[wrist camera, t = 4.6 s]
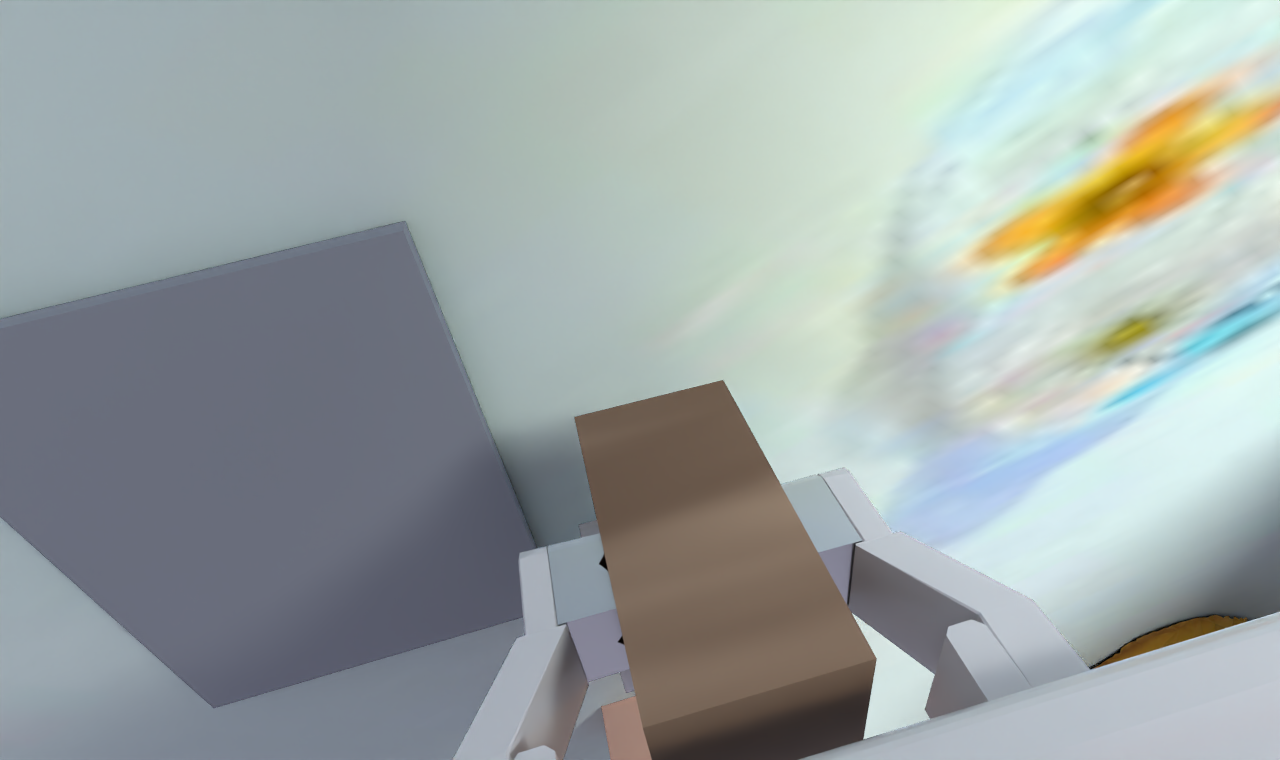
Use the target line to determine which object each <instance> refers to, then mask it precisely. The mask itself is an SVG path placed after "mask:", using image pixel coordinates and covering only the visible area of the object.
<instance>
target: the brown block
mask: <svg viewBox="0 0 1280 760" xmlns="http://www.w3.org/2000/svg"><path fill="white" fill-rule="evenodd" d="M574 418H575V423H576V427H577V432H578V436H579V441H580V445H581V450H582V455H583V459H584V464H585V468H586V473H587V477H588V482H589V486H590V491H591V495H592V500H593V504H594V509H595V514H596V518H597V520H594V521H591V522H587V523H583V524H579V529H580V534H581V538H582V537H586V536H590V535H595V534H599V533H600V536H601V541H602V545H603V550H604V554H605V559H606V563H607V568H608V573H609V577H610V582H611V586H612V591H613V595H614V600H615V604H616V609H617V613H618V618H619V622H620V627H621V631H622V636H623V641H624V645H625V650H626V654H627V659H628V663H629V668H630V669H628V670H625V671H621V672H620V674H621V677H622V681H623V684H624V687H625V691H626V693H628V692H631V691H635V695H636V700H637V704H638V709H639V713H640V718H641V722H642V727H643V731H644V734H645V737H646V741H647V744H648V748H649V751H650V755H651V758H652V760H799V759H802V758H805V757H809V756H812V755H815V754H818V753H822V752H825V751H828V750H831V749H835V748H838V747H841V746H844V745H848V744H851V743H854V742H857V741H861V740H863V737H864V731H865V725H866V719H867V713H868V707H869V701H870V695H871V689H872V683H873V677H874V671H875V665H876V657H875V655H874V653H873V651H872V649H871V648H870V646H869V644H868V642H867V640H866V639H865V637H864V635H863V633H862V631H861V630H860V628H859V626H858V624H857V622H856V620H855V619H854V617H853V615H852V613H851V611H850V610H849V608H848V606H847V604H846V602H845V600H844V599H843V597H842V595H841V593H840V591H839V590H838V588H837V586H836V584H835V582H834V580H833V579H832V577H831V575H830V573H829V571H828V570H827V568H826V566H825V564H824V562H823V561H822V559H821V557H820V555H819V553H818V551H817V550H816V548H815V546H814V544H813V542H812V541H811V539H810V537H809V535H808V533H807V531H806V530H805V528H804V526H803V524H802V522H801V521H800V519H799V517H798V515H797V513H796V512H795V510H794V508H793V506H792V504H791V502H790V501H789V499H788V497H787V495H786V493H785V492H784V490H783V488H782V486H781V484H780V482H779V481H778V479H777V477H776V475H775V473H774V472H773V470H772V468H771V466H770V464H769V463H768V461H767V459H766V457H765V455H764V453H763V452H762V450H761V448H760V446H759V444H758V443H757V441H756V439H755V437H754V435H753V433H752V432H751V430H750V428H749V426H748V424H747V423H746V421H745V419H744V417H743V415H742V414H741V412H740V410H739V408H738V406H737V404H736V403H735V401H734V399H733V397H732V395H731V394H730V392H729V390H728V388H727V386H726V384H725V383H724V381H723V380H721V381H717V382H713V383H709V384H705V385H701V386H697V387H693V388H689V389H685V390H681V391H677V392H673V393H669V394H665V395H661V396H657V397H653V398H649V399H645V400H641V401H637V402H633V403H629V404H625V405H621V406H617V407H613V408H609V409H605V410H601V411H597V412H593V413H589V414H585V415H581V416H577V417H574Z"/></svg>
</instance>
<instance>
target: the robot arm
mask: <svg viewBox="0 0 1280 760" xmlns="http://www.w3.org/2000/svg"><path fill="white" fill-rule="evenodd" d="M781 486H782V488H783V490H784V492H785V493H786V495H787V497H788V499H789V501H790V502H791V504H792V506H793V508H794V510H795V512H796V513H797V515H798V517H799V519H800V521H801V522H802V524H803V526H804V528H805V530H806V531H807V533H808V535H809V537H810V539H811V541H812V542H813V544H814V546H815V548H816V550H817V551H818V553H819V555H820V557H821V559H822V561H823V562H824V564H825V566H826V568H827V570H828V571H829V573H830V575H831V577H832V579H833V580H834V582H835V584H836V586H837V588H838V590H839V591H840V593H841V595H842V597H843V599H844V600H845V602H846V604H847V606H848V607H849V610H850V611H851V612H852V613H853V614H855V615H856V616H857V617H859V618H860V619H861V620H863V621H864V622H865V623H867V624H868V625H869V626H871V627H872V628H873V629H875V630H876V631H877V632H879V633H880V634H881V635H883V636H884V637H885V638H887V639H888V640H889V641H891V642H892V643H893V644H895V645H896V646H897V647H899V648H900V649H902V650H903V651H904V652H906V653H907V654H908V655H910V656H911V657H912V658H914V659H915V660H916V661H918V662H919V663H920V664H922V665H923V666H924V667H926V668H927V669H928V670H930V671H931V672H932V673H934V674H935V676H934V679H933V683H932V686H931V690H930V693H929V697H928V700H927V704H926V707H925V711H926V712H927V714H928V716H929V718H930V719H929V720H926V721H922V722H919V723H916V724H913V725H909V726H906V727H903V728H900V729H896V730H893V731H890V732H887V733H883V734H880V735H877V736H874V737H870V738H867V739H864V740H861V741H857V742H854V743H851V744H848V745H844V746H841V747H838V748H835V749H831V750H828V751H825V752H822V753H818V754H815V755H812V756H809V757H805V758H802V759H799V760H1280V612H1277V613H1274V614H1271V615H1267V616H1264V617H1261V618H1258V619H1254V620H1251V621H1248V622H1245V623H1241V624H1238V625H1235V626H1232V627H1228V628H1225V629H1222V630H1219V631H1215V632H1212V633H1209V634H1205V635H1202V636H1199V637H1196V638H1192V639H1189V640H1186V641H1183V642H1179V643H1176V644H1173V645H1170V646H1166V647H1163V648H1160V649H1157V650H1153V651H1150V652H1147V653H1144V654H1140V655H1137V656H1134V657H1131V658H1127V659H1124V660H1121V661H1118V662H1114V663H1111V664H1108V665H1105V666H1101V667H1098V668H1095V669H1092V670H1090V669H1089V667H1088V666H1087V665H1086V664H1085V663H1084V661H1083V660H1082V659H1081V658H1080V656H1079V655H1078V654H1077V653H1076V652H1075V650H1074V649H1073V648H1072V647H1071V645H1070V644H1069V643H1068V642H1067V641H1066V639H1065V638H1064V637H1063V636H1062V635H1061V633H1060V632H1059V631H1058V630H1057V628H1056V627H1055V626H1054V625H1053V624H1052V622H1051V621H1050V620H1049V619H1048V618H1047V616H1046V615H1045V614H1044V613H1043V611H1042V610H1041V609H1040V608H1039V607H1038V605H1037V604H1036V603H1035V602H1034V600H1032V599H1030V598H1028V597H1027V596H1025V595H1023V594H1021V593H1019V592H1017V591H1015V590H1013V589H1011V588H1009V587H1007V586H1005V585H1003V584H1001V583H999V582H997V581H996V580H994V579H992V578H990V577H988V576H986V575H984V574H982V573H980V572H978V571H976V570H974V569H972V568H970V567H968V566H966V565H964V564H963V563H961V562H959V561H957V560H955V559H953V558H951V557H949V556H947V555H945V554H943V553H941V552H939V551H937V550H935V549H933V548H932V547H930V546H928V545H926V544H924V543H922V542H920V541H918V540H916V539H914V538H912V537H910V536H908V535H906V534H904V533H902V532H901V531H900V532H896V533H892V532H891V530H890V529H889V527H888V526H887V525H886V523H885V522H884V520H883V519H882V517H881V516H880V514H879V513H878V512H877V510H876V509H875V507H874V506H873V504H872V503H871V502H870V500H869V499H868V497H867V496H866V494H865V493H864V491H863V490H862V489H861V487H860V486H859V484H858V483H857V481H856V480H855V479H854V477H853V476H852V474H851V473H850V471H849V470H847V469H846V468H844V467H843V468H840V469H836V470H832V471H828V472H824V473H821V474H818V475H811V476H808V477H804V478H801V479H797V480H793V481H790V482H786V483H783V484H781ZM518 564H519V575H520V587H521V599H522V611H523V622H524V634H525V635H524V636H521V637H518V638H516V639H515V641H514V643H513V645H512V647H511V649H510V651H509V653H508V655H507V657H506V659H505V661H504V662H503V664H502V666H501V668H500V670H499V672H498V674H497V676H496V678H495V680H494V682H493V683H492V685H491V687H490V689H489V691H488V693H487V695H486V697H485V699H484V701H483V703H482V704H481V706H480V708H479V710H478V712H477V714H476V716H475V718H474V720H473V722H472V724H471V725H470V727H469V729H468V731H467V733H466V735H465V737H464V739H463V741H462V743H461V745H460V746H459V748H458V750H457V752H456V754H455V756H454V758H453V760H563V758H564V756H565V753H566V750H567V747H568V744H569V741H570V738H571V735H572V732H573V729H574V726H575V723H576V720H577V718H578V715H579V712H580V709H581V706H582V703H583V700H584V697H585V694H586V691H587V688H588V682H590V681H593V680H596V679H599V678H602V677H606V676H609V675H612V674H615V673H618V672H621V671H625V670H628V669H630V668H629V663H628V659H627V654H626V650H625V645H624V641H623V636H622V631H621V627H620V622H619V618H618V613H617V609H616V604H615V600H614V595H613V591H612V586H611V582H610V577H609V573H608V568H607V563H606V559H605V554H604V550H603V545H602V541H601V536H600V533H599V534H595V535H590V536H586V537H582V538H578V539H574V540H569V541H565V542H561V543H557V544H553V545H548V546H545V547H541V548H537V549H533V550H529V551H525V552H521V553H519V560H518Z"/></svg>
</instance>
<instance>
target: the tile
mask: <svg viewBox="0 0 1280 760" xmlns="http://www.w3.org/2000/svg"><path fill="white" fill-rule="evenodd" d="M602 713H603V719H604V725H605V730H606V736H607V742H608V747H609V753H610V759H611V760H652V758H651V755H650V751H649V748H648V744H647V741H646V737H645V734H644V731H643V727H642V722H641V718H640V713H639V709H638V704H637V700H636V696H634V697H631V698H627V699H624V700H621V701H618V702H615V703H611V704H608V705H605V706H602Z"/></svg>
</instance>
